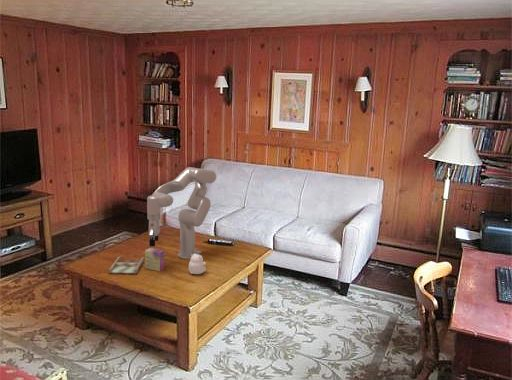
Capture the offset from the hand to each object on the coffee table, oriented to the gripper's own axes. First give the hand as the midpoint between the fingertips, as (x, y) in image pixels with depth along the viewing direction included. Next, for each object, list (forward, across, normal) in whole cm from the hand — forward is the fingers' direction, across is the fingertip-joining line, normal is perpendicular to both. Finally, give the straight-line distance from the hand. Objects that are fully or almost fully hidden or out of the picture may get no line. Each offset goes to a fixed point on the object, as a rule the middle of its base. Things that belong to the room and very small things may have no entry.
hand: (153, 243), depth 259 cm
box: (+16, +1, 0) cm, 17 cm away
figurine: (+16, -5, -26) cm, 32 cm away
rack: (+16, +1, +16) cm, 23 cm away
